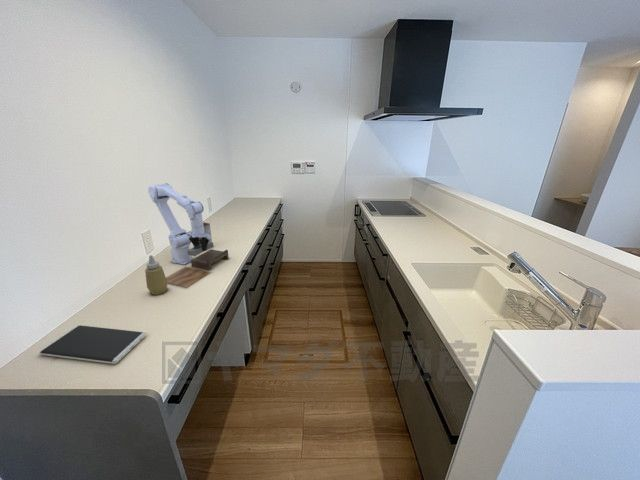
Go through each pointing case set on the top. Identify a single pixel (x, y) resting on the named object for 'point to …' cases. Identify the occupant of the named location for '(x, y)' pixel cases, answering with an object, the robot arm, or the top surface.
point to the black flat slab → (94, 344)
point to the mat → (186, 277)
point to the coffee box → (206, 230)
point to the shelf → (208, 259)
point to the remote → (198, 249)
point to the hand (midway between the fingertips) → (201, 249)
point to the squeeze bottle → (155, 277)
